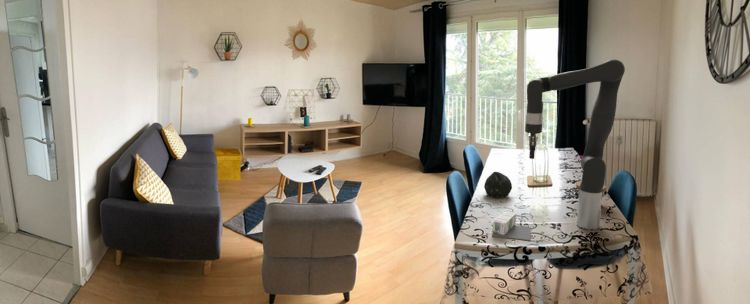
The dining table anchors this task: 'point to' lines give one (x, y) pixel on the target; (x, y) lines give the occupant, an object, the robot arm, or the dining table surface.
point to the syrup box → (504, 223)
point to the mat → (516, 233)
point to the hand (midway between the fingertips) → (531, 158)
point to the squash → (498, 185)
